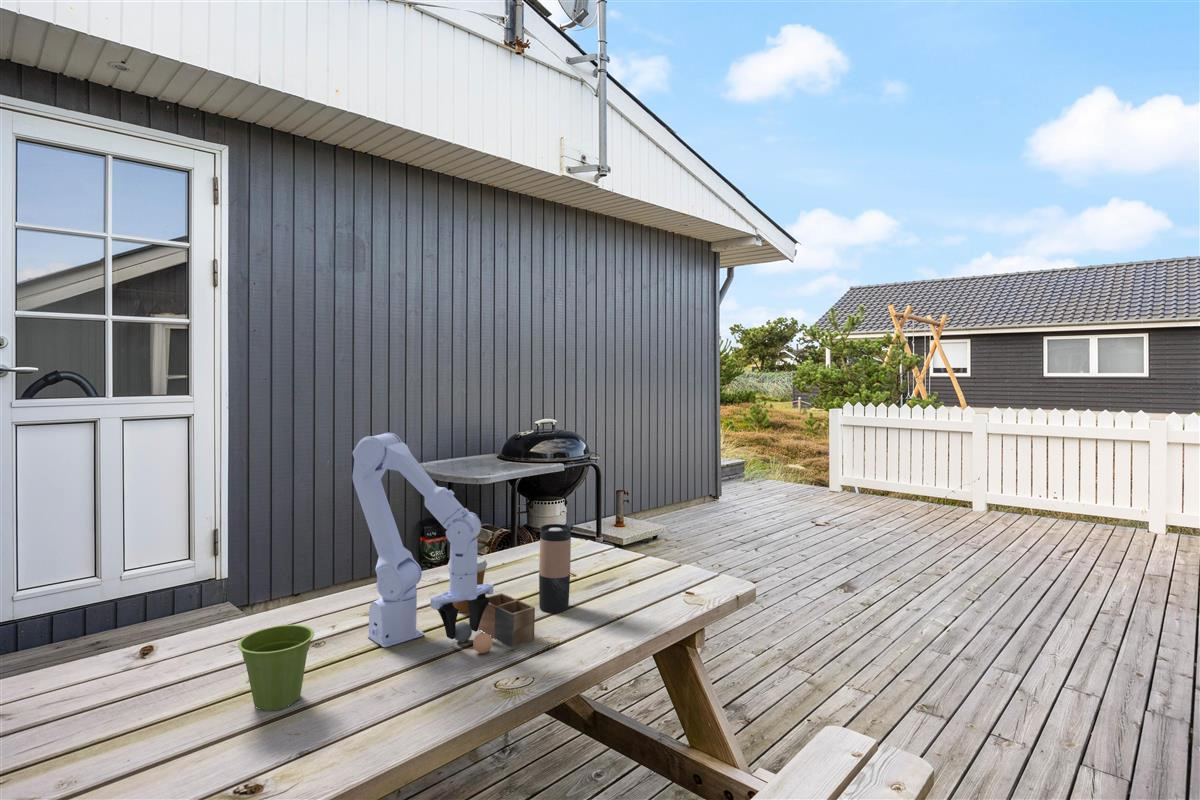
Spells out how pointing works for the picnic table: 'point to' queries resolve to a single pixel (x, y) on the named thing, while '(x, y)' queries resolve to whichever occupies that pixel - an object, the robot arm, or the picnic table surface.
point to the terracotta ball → (482, 643)
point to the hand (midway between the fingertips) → (462, 633)
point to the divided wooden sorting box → (508, 620)
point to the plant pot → (276, 664)
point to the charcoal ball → (463, 632)
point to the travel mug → (554, 568)
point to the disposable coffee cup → (481, 568)
